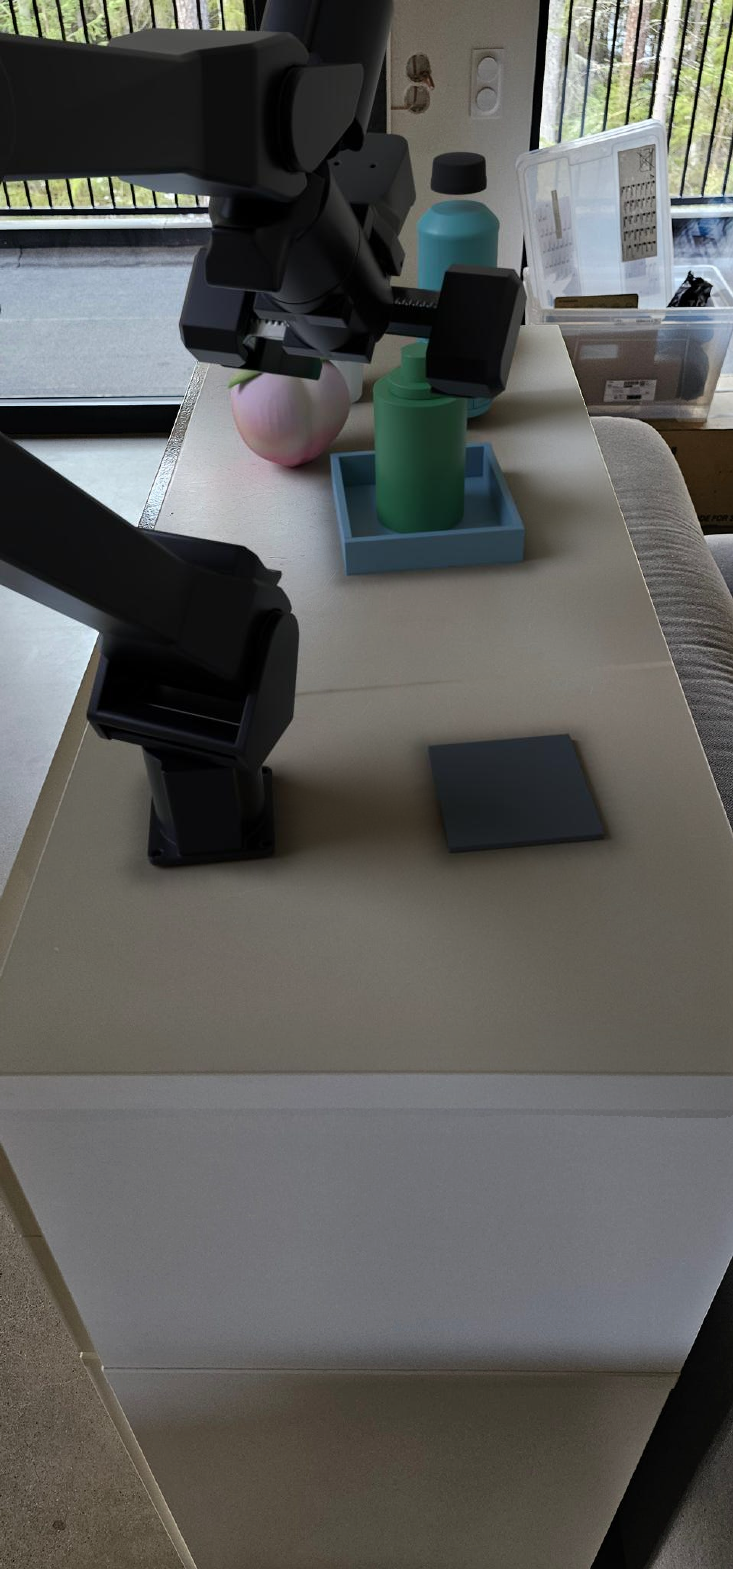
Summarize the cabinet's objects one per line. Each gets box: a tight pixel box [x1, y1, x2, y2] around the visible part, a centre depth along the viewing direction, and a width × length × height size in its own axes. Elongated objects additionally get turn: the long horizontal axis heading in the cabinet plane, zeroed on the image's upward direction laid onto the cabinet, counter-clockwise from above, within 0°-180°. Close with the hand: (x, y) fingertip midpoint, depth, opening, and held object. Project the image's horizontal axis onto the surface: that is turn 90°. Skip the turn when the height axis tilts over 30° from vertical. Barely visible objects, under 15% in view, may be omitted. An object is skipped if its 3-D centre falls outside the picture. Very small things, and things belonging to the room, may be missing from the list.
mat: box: [427, 733, 606, 853], centre depth 59 cm, size 8×8×1 cm
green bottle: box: [372, 342, 468, 534], centre depth 77 cm, size 6×6×12 cm
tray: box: [329, 441, 526, 576], centre depth 79 cm, size 13×12×3 cm
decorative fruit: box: [227, 358, 351, 468], centre depth 84 cm, size 9×8×10 cm
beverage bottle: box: [416, 151, 501, 419], centre depth 86 cm, size 6×7×20 cm
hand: (386, 381), depth 68 cm, fingers open, 9 cm apart
